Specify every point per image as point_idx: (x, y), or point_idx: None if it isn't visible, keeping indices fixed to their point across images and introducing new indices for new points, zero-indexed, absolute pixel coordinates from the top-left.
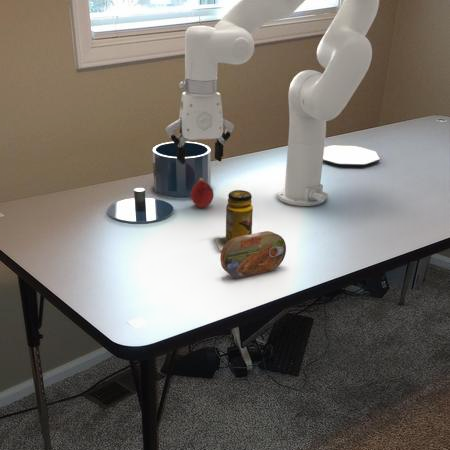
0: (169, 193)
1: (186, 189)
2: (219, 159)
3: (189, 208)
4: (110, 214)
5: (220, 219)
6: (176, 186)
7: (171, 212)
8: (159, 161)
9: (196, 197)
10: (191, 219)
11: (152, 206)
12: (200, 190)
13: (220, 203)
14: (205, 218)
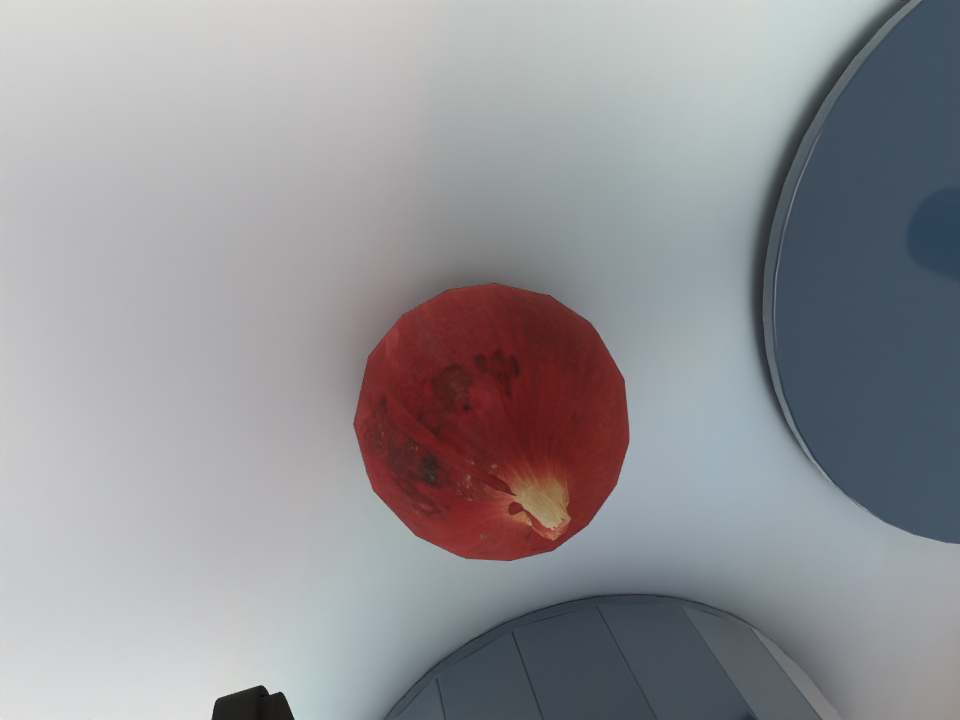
0: (753, 641)
1: (617, 654)
2: (259, 709)
3: None
4: None
5: (284, 45)
6: (726, 672)
7: (813, 154)
8: None
9: (571, 312)
10: (603, 72)
11: (954, 331)
12: (542, 345)
13: (261, 514)
14: (452, 91)
